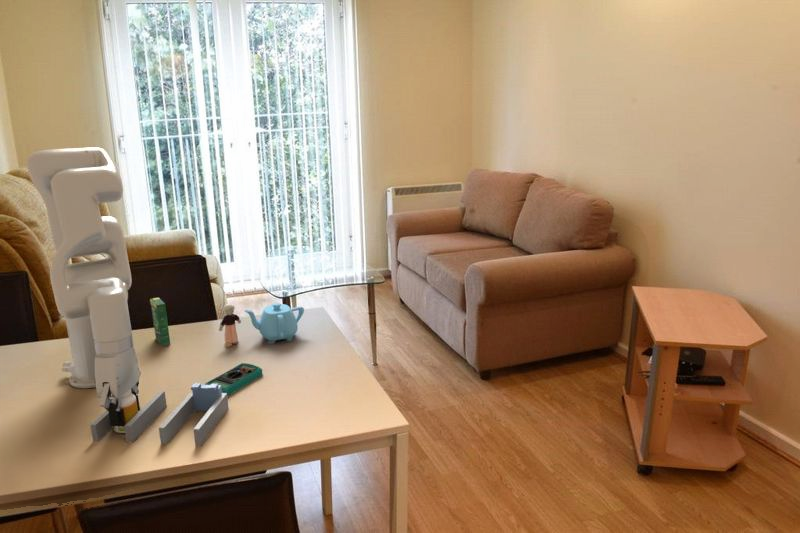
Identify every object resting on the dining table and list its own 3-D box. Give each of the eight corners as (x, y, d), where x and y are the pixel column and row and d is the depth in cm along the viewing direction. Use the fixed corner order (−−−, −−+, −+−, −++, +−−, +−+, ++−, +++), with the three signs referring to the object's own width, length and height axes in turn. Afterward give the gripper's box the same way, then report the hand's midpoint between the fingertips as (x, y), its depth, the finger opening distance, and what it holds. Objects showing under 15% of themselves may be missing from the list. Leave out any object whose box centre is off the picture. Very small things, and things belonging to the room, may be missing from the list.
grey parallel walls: (93, 441, 131) (88, 413, 129) (131, 404, 146) (127, 379, 144) (200, 446, 128) (197, 417, 127) (228, 408, 144) (225, 382, 142)
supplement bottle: (145, 424, 137) (139, 385, 135) (126, 435, 133) (119, 396, 130) (128, 419, 139) (122, 381, 137) (108, 430, 135) (102, 391, 132)
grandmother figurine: (229, 349, 177) (224, 308, 174) (218, 346, 179) (214, 306, 175) (246, 339, 184) (242, 300, 180) (236, 337, 185) (232, 298, 182)
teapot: (307, 335, 187) (306, 301, 185) (277, 350, 175) (276, 313, 173) (276, 329, 193) (274, 295, 191) (245, 342, 181) (242, 307, 179)
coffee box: (154, 338, 186) (149, 298, 182) (164, 336, 187) (159, 296, 184) (160, 346, 179) (155, 305, 176) (170, 344, 181) (165, 303, 177)
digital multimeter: (264, 375, 161) (264, 365, 160) (225, 400, 149) (223, 389, 148) (244, 370, 165) (243, 360, 164) (203, 393, 152) (202, 383, 151)
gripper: (119, 328, 139) (129, 399, 144) (73, 360, 123) (87, 438, 128) (150, 329, 138) (160, 400, 143) (108, 361, 122) (121, 439, 127)
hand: (125, 417), depth 135 cm, fingers closed on supplement bottle, 5 cm apart
